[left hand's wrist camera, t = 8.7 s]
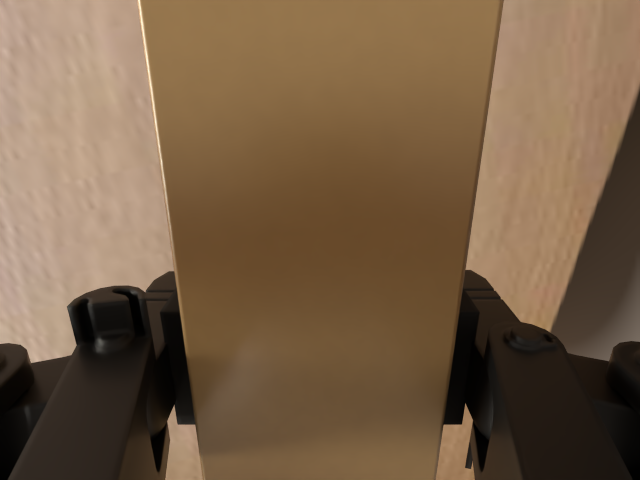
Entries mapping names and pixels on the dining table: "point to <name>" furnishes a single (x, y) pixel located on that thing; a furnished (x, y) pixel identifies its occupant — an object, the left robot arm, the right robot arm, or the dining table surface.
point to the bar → (319, 222)
